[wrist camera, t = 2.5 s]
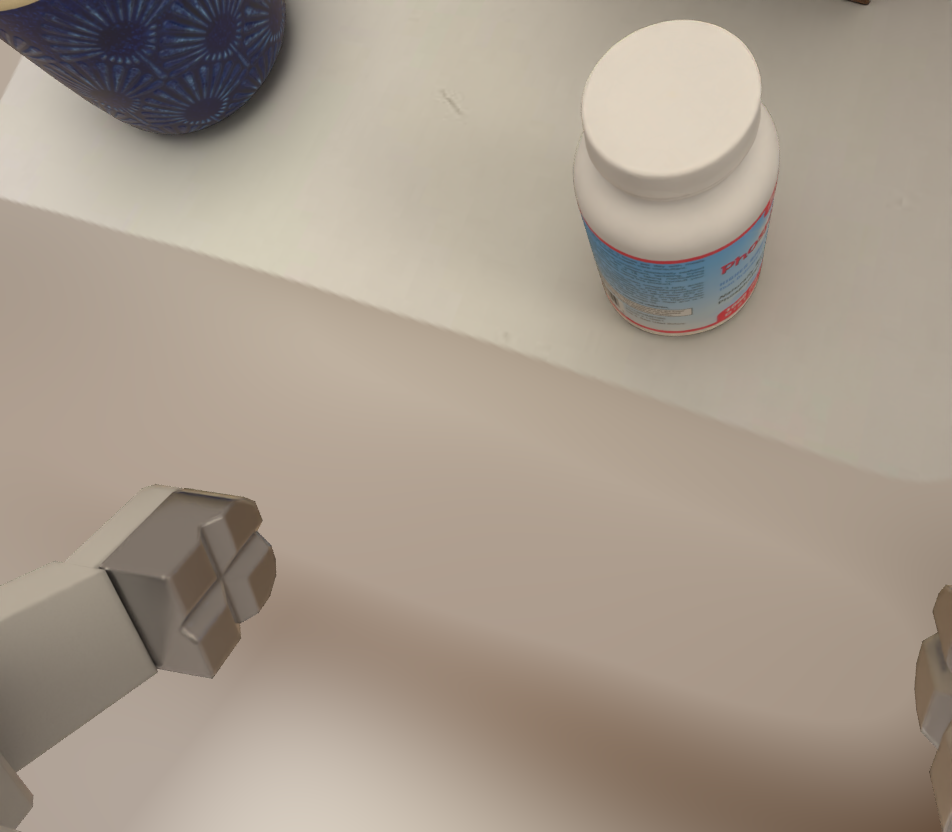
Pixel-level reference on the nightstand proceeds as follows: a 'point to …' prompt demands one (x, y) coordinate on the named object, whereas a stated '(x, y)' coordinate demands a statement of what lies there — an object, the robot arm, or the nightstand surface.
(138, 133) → the nightstand surface
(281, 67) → the nightstand surface
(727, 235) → the pill bottle
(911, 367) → the nightstand surface
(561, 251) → the nightstand surface
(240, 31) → the planter
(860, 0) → the walnut riser
